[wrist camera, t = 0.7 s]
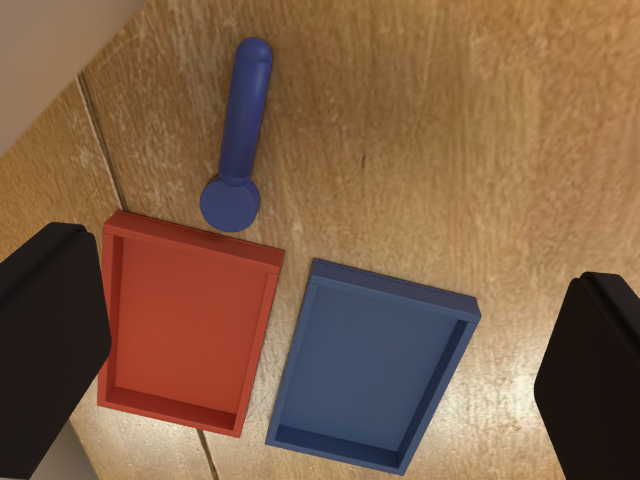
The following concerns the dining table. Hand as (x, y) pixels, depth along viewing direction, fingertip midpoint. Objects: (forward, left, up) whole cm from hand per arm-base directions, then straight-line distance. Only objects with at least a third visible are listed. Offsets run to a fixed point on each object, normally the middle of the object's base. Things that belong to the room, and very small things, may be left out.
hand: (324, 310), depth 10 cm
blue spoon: (+4, -5, -18) cm, 19 cm away
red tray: (+17, -7, -18) cm, 26 cm away
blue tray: (+17, +5, -18) cm, 26 cm away
